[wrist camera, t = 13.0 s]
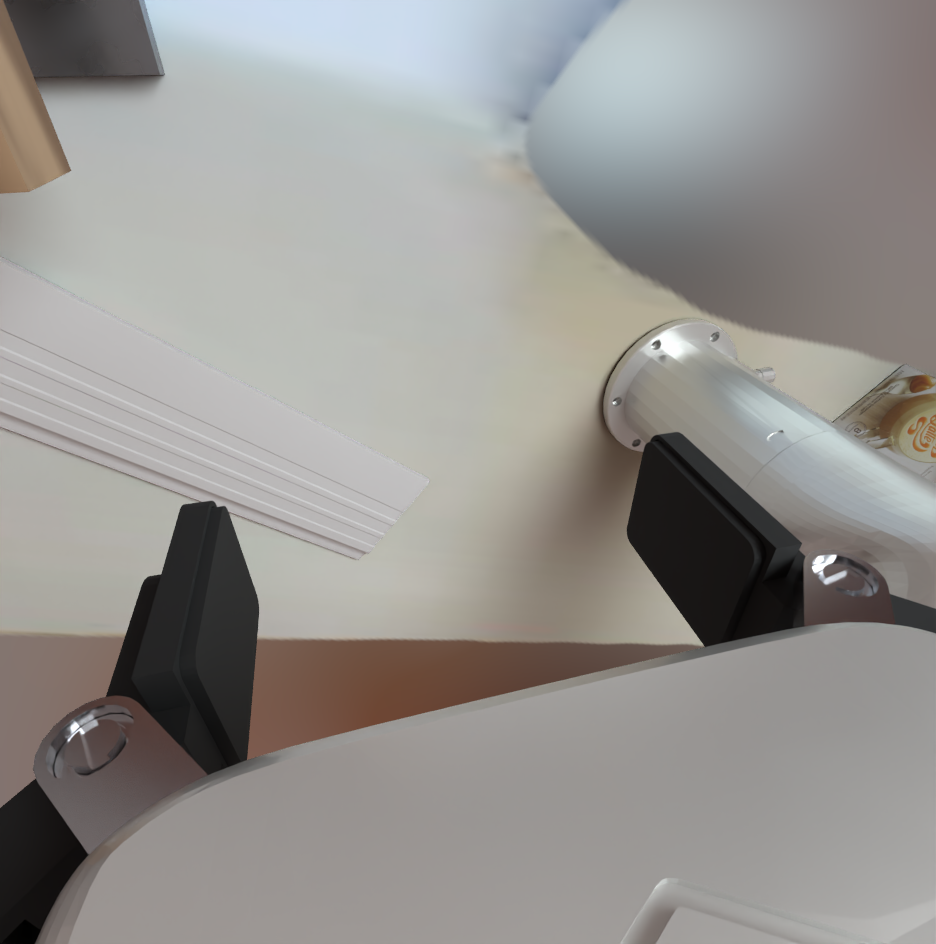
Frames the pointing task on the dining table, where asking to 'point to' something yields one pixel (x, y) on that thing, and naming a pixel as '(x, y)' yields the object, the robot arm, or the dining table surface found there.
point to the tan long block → (24, 121)
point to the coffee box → (899, 420)
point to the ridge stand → (85, 37)
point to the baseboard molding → (185, 422)
